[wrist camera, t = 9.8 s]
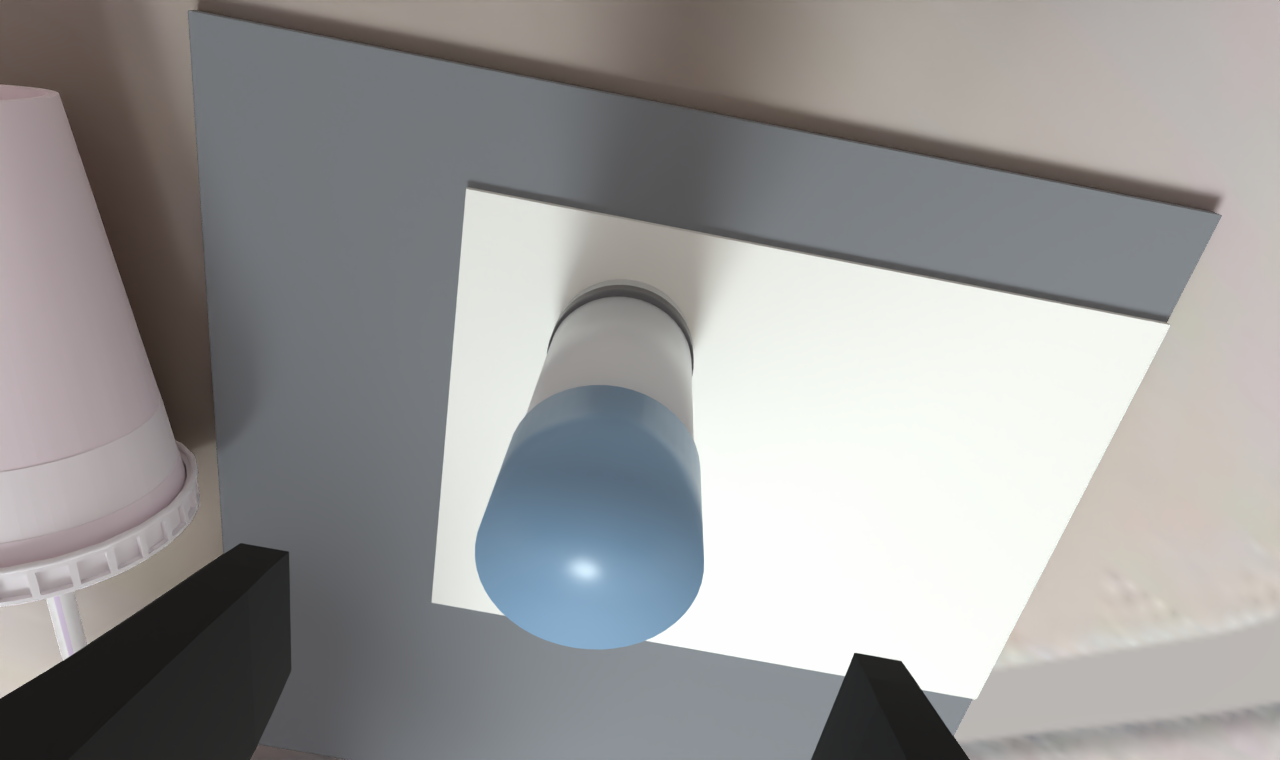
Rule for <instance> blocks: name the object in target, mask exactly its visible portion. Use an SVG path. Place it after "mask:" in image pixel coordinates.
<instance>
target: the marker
mask: <svg viewBox="0 0 1280 760" xmlns="http://www.w3.org/2000/svg"><path fill="white" fill-rule="evenodd" d="M693 369H694V355H693V342H692V337H691V334H690V331H689V327H688V323H687V321H686V319H685V317H684V315H683V313H682V312H681V310H680V308H679V307H678V306H677V305H676V303H675V302H674V301H673V300H672V299H671V298H670V297H669V296H667V295H666V294H665V293H663V292H662V291H660V290H659V289H657V288H655V287H653V286H651V285H648V284H646V283H643V282H639V281H635V280H627V279H616V280H608V281H604V282H600V283H597V284H595V285H592V286H590V287H588V288H586V289H585V290H583V291H581V292H580V293H579V294H578V295H576V296H575V297H574V298H573V299H572V300H571V301H570V302H569V304H568V305H567V306H566V308H565V309H564V311H563V312H562V314H561V315H560V317H559V318H558V320H557V322H556V324H555V327H554V330H553V332H552V335H551V338H550V341H549V344H548V349H547V356H546V359H545V362H544V365H543V367H542V370H541V373H540V376H539V379H538V382H537V385H536V387H535V390H534V393H533V396H532V399H531V402H530V405H529V407H528V410H527V413H526V415H525V417H524V418H523V419H522V421H521V422H520V423H519V425H518V426H517V428H516V430H515V432H514V433H513V436H512V439H511V441H510V444H509V447H508V450H507V452H506V455H505V458H504V461H503V463H502V466H501V469H500V472H499V474H498V477H497V480H496V483H495V485H494V488H493V491H492V494H491V496H490V499H489V502H488V505H487V507H486V510H485V513H484V516H483V518H482V521H481V524H480V527H479V529H478V532H477V537H476V542H475V562H476V569H477V572H478V575H479V579H480V581H481V583H482V585H483V587H484V590H485V592H486V593H487V595H488V596H489V598H490V599H491V601H492V602H493V603H494V604H495V605H496V607H497V608H498V609H499V610H500V611H501V612H502V613H503V614H504V615H505V616H506V617H507V618H508V619H510V620H511V621H512V622H513V623H515V624H516V625H518V626H519V627H520V628H522V629H524V630H526V631H527V632H529V633H531V634H533V635H535V636H537V637H539V638H542V639H544V640H546V641H549V642H553V643H556V644H559V645H563V646H568V647H572V648H580V649H599V650H602V649H614V648H620V647H626V646H630V645H633V644H637V643H640V642H643V641H645V640H648V639H650V638H653V637H655V636H656V635H658V634H660V633H662V632H664V631H665V630H667V629H668V628H669V627H671V626H672V625H673V624H675V623H676V622H677V621H678V620H679V619H680V618H681V617H682V616H683V615H684V614H685V613H686V612H687V610H688V609H689V608H690V606H691V605H692V603H693V602H694V600H695V598H696V596H697V594H698V592H699V589H700V586H701V584H702V579H703V573H704V545H703V520H702V496H701V471H700V461H699V455H698V451H697V448H696V445H695V443H694V431H693V396H692V375H693Z"/></svg>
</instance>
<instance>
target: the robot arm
mask: <svg viewBox="0 0 1280 760" xmlns="http://www.w3.org/2000/svg"><path fill="white" fill-rule="evenodd" d="M290 673H291V621H290V568H289V552H288V551H283V550H277V549H272V548H266V547H260V546H255V545H249V544H243V543H240V544H238V545H237V546H235V547H234V548H232V549H230V550H229V551H227V552H226V553H224V554H223V555H221V556H220V557H218V558H217V559H215V560H214V561H212V562H211V563H209V564H208V565H206V566H205V567H203V568H202V569H200V570H199V571H197V572H196V573H194V574H193V575H191V576H190V577H189V578H187V579H186V580H184V581H183V582H181V583H180V584H178V585H177V586H175V587H174V588H172V589H171V590H169V591H168V592H167V593H165V594H164V595H162V596H161V597H159V598H158V599H156V600H155V601H153V602H152V603H150V604H149V605H147V606H146V607H144V608H143V609H141V610H140V611H138V612H137V613H135V614H134V615H132V616H131V617H129V618H128V619H126V620H125V621H123V622H122V623H120V624H119V625H117V626H116V627H114V628H113V629H111V630H109V631H108V632H106V633H105V634H103V635H102V636H100V637H99V638H97V639H96V640H94V641H93V642H91V643H90V644H88V645H86V646H85V647H83V648H82V649H80V650H79V651H77V652H76V653H74V654H73V655H71V656H70V657H68V658H66V659H65V660H63V661H62V662H60V663H59V664H57V665H55V666H54V667H52V668H51V669H49V670H47V671H46V672H44V673H42V674H41V675H39V676H37V677H36V678H34V679H32V680H31V681H29V682H27V683H26V684H24V685H22V686H21V687H19V688H17V689H16V690H14V691H12V692H11V693H9V694H7V695H6V696H4V697H2V698H1V699H0V760H250V758H251V756H252V755H253V753H254V751H255V749H256V747H257V745H258V743H259V741H260V739H261V737H262V735H263V732H264V730H265V728H266V726H267V724H268V722H269V720H270V718H271V715H272V713H273V711H274V709H275V707H276V704H277V702H278V700H279V698H280V695H281V693H282V691H283V689H284V686H285V684H286V682H287V679H288V677H289V675H290ZM811 760H970V759H969V758H968V757H967V755H966V754H965V752H964V751H963V749H962V748H961V746H960V745H959V744H958V742H957V741H956V739H955V738H954V736H953V735H952V734H951V732H950V731H949V729H948V728H947V726H946V725H945V723H944V722H943V720H942V719H941V717H940V716H939V715H938V713H937V712H936V710H935V709H934V707H933V706H932V704H931V703H930V701H929V700H928V698H927V697H926V695H925V694H924V693H923V691H922V690H921V688H920V687H919V685H918V684H917V682H916V681H915V679H914V678H913V677H912V675H911V674H910V672H909V671H908V669H907V668H906V667H905V665H904V664H903V662H902V661H899V660H893V659H888V658H882V657H877V656H871V655H865V654H860V653H854V655H853V658H852V660H851V663H850V665H849V667H848V670H847V672H846V675H845V677H844V680H843V682H842V685H841V687H840V690H839V692H838V695H837V697H836V699H835V702H834V704H833V707H832V709H831V712H830V714H829V717H828V719H827V722H826V724H825V726H824V729H823V731H822V734H821V736H820V739H819V741H818V744H817V746H816V749H815V751H814V753H813V756H812V758H811Z"/></svg>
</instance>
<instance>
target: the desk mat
mask: <svg viewBox="0 0 1280 760" xmlns="http://www.w3.org/2000/svg"><path fill="white" fill-rule="evenodd" d="M188 19H189V35H190V50H191V65H192V80H193V95H194V111H195V126H196V141H197V156H198V172H199V187H200V202H201V217H202V232H203V248H204V263H205V278H206V293H207V308H208V324H209V339H210V354H211V369H212V384H213V400H214V415H215V430H216V445H217V460H218V476H219V491H220V506H221V521H222V536H223V552H224V553H226V552H227V551H229V550H230V549H232V548H234V547H235V546H237V545H238V544H240V543H243V544H249V545H255V546H260V547H266V548H272V549H277V550H283V551H288V552H289V568H290V621H291V673H290V675H289V677H288V679H287V682H286V684H285V686H284V689H283V691H282V693H281V695H280V698H279V700H278V702H277V704H276V707H275V709H274V711H273V713H272V715H271V718H270V720H269V722H268V724H267V726H266V728H265V730H264V732H263V735H262V737H261V739H260V741H259V743H258V744H259V745H265V746H271V747H277V748H283V749H289V750H294V751H300V752H306V753H312V754H318V755H324V756H329V757H335V758H341V759H347V760H811V758H812V756H813V753H814V751H815V749H816V746H817V744H818V741H819V739H820V736H821V734H822V731H823V729H824V726H825V724H826V722H827V719H828V717H829V714H830V712H831V709H832V707H833V704H834V702H835V699H836V697H837V695H838V692H839V690H840V687H841V685H842V682H843V680H844V677H845V676H841V675H835V674H830V673H824V672H819V671H813V670H807V669H802V668H796V667H790V666H785V665H779V664H774V663H768V662H762V661H757V660H751V659H745V658H740V657H734V656H729V655H723V654H717V653H712V652H706V651H700V650H695V649H689V648H684V647H678V646H672V645H667V644H661V643H655V642H650V641H643V642H640V643H637V644H633V645H630V646H626V647H620V648H614V649H602V650H599V649H580V648H572V647H568V646H563V645H559V644H556V643H553V642H549V641H546V640H544V639H542V638H539V637H537V636H535V635H533V634H531V633H529V632H527V631H526V630H524V629H522V628H520V627H519V626H518V625H516V624H515V623H513V622H512V621H511V620H510V619H508V618H507V617H506V616H504V615H498V614H492V613H487V612H481V611H476V610H470V609H464V608H459V607H453V606H447V605H442V604H436V603H431V602H432V590H433V578H434V566H435V554H436V542H437V530H438V518H439V506H440V494H441V482H442V471H443V459H444V447H445V435H446V423H447V411H448V399H449V387H450V375H451V363H452V351H453V339H454V327H455V315H456V303H457V291H458V280H459V268H460V256H461V244H462V232H463V220H464V208H465V196H466V188H467V187H470V188H475V189H480V190H485V191H491V192H496V193H501V194H506V195H511V196H516V197H522V198H527V199H532V200H537V201H542V202H547V203H553V204H558V205H563V206H568V207H573V208H578V209H584V210H589V211H594V212H599V213H604V214H609V215H615V216H620V217H625V218H630V219H635V220H640V221H645V222H651V223H656V224H661V225H666V226H671V227H676V228H682V229H687V230H692V231H697V232H702V233H707V234H713V235H718V236H723V237H728V238H733V239H738V240H744V241H749V242H754V243H759V244H764V245H769V246H775V247H780V248H785V249H790V250H795V251H800V252H806V253H811V254H816V255H821V256H826V257H831V258H837V259H842V260H847V261H852V262H857V263H862V264H868V265H873V266H878V267H883V268H888V269H893V270H899V271H904V272H909V273H914V274H919V275H924V276H930V277H935V278H940V279H945V280H950V281H955V282H961V283H966V284H971V285H976V286H981V287H986V288H991V289H997V290H1002V291H1007V292H1012V293H1017V294H1022V295H1028V296H1033V297H1038V298H1043V299H1048V300H1053V301H1059V302H1064V303H1069V304H1074V305H1079V306H1084V307H1090V308H1095V309H1100V310H1105V311H1110V312H1115V313H1121V314H1126V315H1131V316H1136V317H1141V318H1146V319H1152V320H1157V321H1162V322H1167V321H1168V319H1169V317H1170V315H1171V313H1172V311H1173V309H1174V307H1175V306H1176V304H1177V302H1178V300H1179V298H1180V296H1181V294H1182V292H1183V290H1184V288H1185V286H1186V284H1187V282H1188V280H1189V278H1190V276H1191V274H1192V273H1193V271H1194V269H1195V267H1196V265H1197V263H1198V261H1199V259H1200V257H1201V255H1202V253H1203V251H1204V249H1205V247H1206V245H1207V243H1208V242H1209V240H1210V238H1211V236H1212V234H1213V232H1214V230H1215V228H1216V226H1217V224H1218V222H1219V220H1220V218H1221V216H1222V215H1219V214H1217V213H1215V212H1212V211H1206V210H1201V209H1196V208H1191V207H1186V206H1181V205H1176V204H1171V203H1166V202H1161V201H1156V200H1151V199H1146V198H1141V197H1136V196H1131V195H1126V194H1121V193H1116V192H1111V191H1106V190H1101V189H1095V188H1090V187H1085V186H1080V185H1075V184H1070V183H1065V182H1060V181H1055V180H1050V179H1045V178H1040V177H1035V176H1030V175H1025V174H1020V173H1015V172H1010V171H1005V170H1000V169H995V168H990V167H985V166H979V165H974V164H969V163H964V162H959V161H954V160H949V159H944V158H939V157H934V156H929V155H924V154H919V153H914V152H909V151H904V150H899V149H894V148H889V147H884V146H879V145H874V144H868V143H863V142H858V141H853V140H848V139H843V138H838V137H833V136H828V135H823V134H818V133H813V132H808V131H803V130H798V129H793V128H788V127H783V126H778V125H773V124H768V123H763V122H758V121H752V120H747V119H742V118H737V117H732V116H727V115H722V114H717V113H712V112H707V111H702V110H697V109H692V108H687V107H682V106H677V105H672V104H667V103H662V102H657V101H652V100H647V99H641V98H636V97H631V96H626V95H621V94H616V93H611V92H606V91H601V90H596V89H591V88H586V87H581V86H576V85H571V84H566V83H561V82H556V81H551V80H546V79H541V78H536V77H531V76H525V75H520V74H515V73H510V72H505V71H500V70H495V69H490V68H485V67H480V66H475V65H470V64H465V63H460V62H455V61H450V60H445V59H440V58H435V57H430V56H425V55H420V54H414V53H409V52H404V51H399V50H394V49H389V48H384V47H379V46H374V45H369V44H364V43H359V42H354V41H349V40H344V39H339V38H334V37H329V36H324V35H319V34H314V33H309V32H304V31H298V30H293V29H288V28H283V27H278V26H273V25H268V24H263V23H258V22H253V21H248V20H243V19H238V18H233V17H228V16H223V15H218V14H213V13H208V12H203V11H198V10H191V11H188ZM922 691H923V693H924V694H925V695H926V697H927V698H928V700H929V701H930V703H931V704H932V706H933V707H934V709H935V710H936V712H937V713H938V715H939V716H940V717H941V719H942V720H943V722H944V723H945V725H946V726H947V728H948V729H949V731H950V732H951V734H952V735H953V736H954V734H955V732H956V730H957V728H958V726H959V724H960V722H961V720H962V719H963V717H964V715H965V713H966V711H967V709H968V707H969V705H970V703H971V701H972V699H970V698H965V697H959V696H953V695H948V694H942V693H937V692H931V691H925V690H922Z"/></svg>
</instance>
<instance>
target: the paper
mask: <svg viewBox="0 0 1280 760" xmlns="http://www.w3.org/2000/svg"><path fill="white" fill-rule="evenodd" d="M616 279H627V280H635V281H639V282H643V283H646V284H648V285H651V286H653V287H655V288H657V289H659V290H660V291H662V292H663V293H665V294H666V295H667V296H669V297H670V298H671V299H672V300H673V301H674V302H675V303H676V305H677V306H678V307H679V308H680V310H681V312H682V313H683V315H684V317H685V319H686V321H687V323H688V327H689V331H690V334H691V337H692V342H693V355H694V369H693V375H692V396H693V431H694V443H695V445H696V448H697V451H698V455H699V461H700V471H701V496H702V520H703V545H704V573H703V579H702V584H701V586H700V589H699V592H698V594H697V596H696V598H695V600H694V602H693V603H692V605H691V606H690V608H689V609H688V610H687V612H686V613H685V614H684V615H683V616H682V617H681V618H680V619H679V620H678V621H677V622H676V623H675V624H673V625H672V626H671V627H669V628H668V629H667V630H665V631H664V632H662V633H660V634H658V635H656V636H655V637H653V638H650V639H648V640H645V641H650V642H655V643H661V644H667V645H672V646H678V647H684V648H689V649H695V650H700V651H706V652H712V653H717V654H723V655H729V656H734V657H740V658H745V659H751V660H757V661H762V662H768V663H774V664H779V665H785V666H790V667H796V668H802V669H807V670H813V671H819V672H824V673H830V674H835V675H841V676H845V675H846V672H847V670H848V667H849V665H850V663H851V660H852V658H853V655H854V653H860V654H865V655H871V656H877V657H882V658H888V659H893V660H899V661H902V662H903V664H904V665H905V667H906V668H907V669H908V671H909V672H910V674H911V675H912V677H913V678H914V679H915V681H916V682H917V684H918V685H919V687H920V688H921V690H925V691H931V692H937V693H942V694H948V695H953V696H959V697H965V698H970V699H977V697H978V695H979V693H980V691H981V689H982V688H983V686H984V684H985V682H986V680H987V678H988V676H989V674H990V672H991V670H992V668H993V666H994V664H995V663H996V661H997V659H998V657H999V655H1000V653H1001V651H1002V649H1003V647H1004V645H1005V643H1006V641H1007V639H1008V637H1009V636H1010V634H1011V632H1012V630H1013V628H1014V626H1015V624H1016V622H1017V620H1018V618H1019V616H1020V614H1021V612H1022V610H1023V609H1024V607H1025V605H1026V603H1027V601H1028V599H1029V597H1030V595H1031V593H1032V591H1033V589H1034V587H1035V585H1036V583H1037V582H1038V580H1039V578H1040V576H1041V574H1042V572H1043V570H1044V568H1045V566H1046V564H1047V562H1048V560H1049V558H1050V557H1051V555H1052V553H1053V551H1054V549H1055V547H1056V545H1057V543H1058V541H1059V539H1060V537H1061V535H1062V533H1063V531H1064V530H1065V528H1066V526H1067V524H1068V522H1069V520H1070V518H1071V516H1072V514H1073V512H1074V510H1075V508H1076V506H1077V504H1078V503H1079V501H1080V499H1081V497H1082V495H1083V493H1084V491H1085V489H1086V487H1087V485H1088V483H1089V481H1090V479H1091V477H1092V476H1093V474H1094V472H1095V470H1096V468H1097V466H1098V464H1099V462H1100V460H1101V458H1102V456H1103V454H1104V452H1105V450H1106V449H1107V447H1108V445H1109V443H1110V441H1111V439H1112V437H1113V435H1114V433H1115V431H1116V429H1117V427H1118V425H1119V423H1120V422H1121V420H1122V418H1123V416H1124V414H1125V412H1126V410H1127V408H1128V406H1129V404H1130V402H1131V400H1132V398H1133V397H1134V395H1135V393H1136V391H1137V389H1138V387H1139V385H1140V383H1141V381H1142V379H1143V377H1144V375H1145V373H1146V371H1147V370H1148V368H1149V366H1150V364H1151V362H1152V360H1153V358H1154V356H1155V354H1156V352H1157V350H1158V348H1159V346H1160V344H1161V343H1162V341H1163V339H1164V337H1165V335H1166V333H1167V331H1168V329H1169V327H1170V324H1168V323H1167V322H1162V321H1157V320H1152V319H1146V318H1141V317H1136V316H1131V315H1126V314H1121V313H1115V312H1110V311H1105V310H1100V309H1095V308H1090V307H1084V306H1079V305H1074V304H1069V303H1064V302H1059V301H1053V300H1048V299H1043V298H1038V297H1033V296H1028V295H1022V294H1017V293H1012V292H1007V291H1002V290H997V289H991V288H986V287H981V286H976V285H971V284H966V283H961V282H955V281H950V280H945V279H940V278H935V277H930V276H924V275H919V274H914V273H909V272H904V271H899V270H893V269H888V268H883V267H878V266H873V265H868V264H862V263H857V262H852V261H847V260H842V259H837V258H831V257H826V256H821V255H816V254H811V253H806V252H800V251H795V250H790V249H785V248H780V247H775V246H769V245H764V244H759V243H754V242H749V241H744V240H738V239H733V238H728V237H723V236H718V235H713V234H707V233H702V232H697V231H692V230H687V229H682V228H676V227H671V226H666V225H661V224H656V223H651V222H645V221H640V220H635V219H630V218H625V217H620V216H615V215H609V214H604V213H599V212H594V211H589V210H584V209H578V208H573V207H568V206H563V205H558V204H553V203H547V202H542V201H537V200H532V199H527V198H522V197H516V196H511V195H506V194H501V193H496V192H491V191H485V190H480V189H475V188H470V187H467V188H466V196H465V208H464V220H463V232H462V244H461V256H460V268H459V280H458V291H457V303H456V315H455V327H454V339H453V351H452V363H451V375H450V387H449V399H448V411H447V423H446V435H445V447H444V459H443V471H442V482H441V494H440V506H439V518H438V530H437V542H436V554H435V566H434V578H433V590H432V602H431V603H436V604H442V605H447V606H453V607H459V608H464V609H470V610H476V611H481V612H487V613H492V614H498V615H504V614H503V613H502V612H501V611H500V610H499V609H498V608H497V607H496V605H495V604H494V603H493V602H492V601H491V599H490V598H489V596H488V595H487V593H486V592H485V590H484V587H483V585H482V583H481V581H480V579H479V575H478V572H477V569H476V562H475V542H476V537H477V532H478V529H479V527H480V524H481V521H482V518H483V516H484V513H485V510H486V507H487V505H488V502H489V499H490V496H491V494H492V491H493V488H494V485H495V483H496V480H497V477H498V474H499V472H500V469H501V466H502V463H503V461H504V458H505V455H506V452H507V450H508V447H509V444H510V441H511V439H512V436H513V433H514V432H515V430H516V428H517V426H518V425H519V423H520V422H521V421H522V419H523V418H524V417H525V415H526V413H527V410H528V407H529V405H530V402H531V399H532V396H533V393H534V390H535V387H536V385H537V382H538V379H539V376H540V373H541V370H542V367H543V365H544V362H545V359H546V356H547V349H548V344H549V341H550V338H551V335H552V332H553V330H554V327H555V324H556V322H557V320H558V318H559V317H560V315H561V314H562V312H563V311H564V309H565V308H566V306H567V305H568V304H569V302H570V301H571V300H572V299H573V298H574V297H575V296H576V295H578V294H579V293H580V292H581V291H583V290H585V289H586V288H588V287H590V286H592V285H595V284H597V283H600V282H604V281H608V280H616ZM504 616H505V615H504Z"/></svg>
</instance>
